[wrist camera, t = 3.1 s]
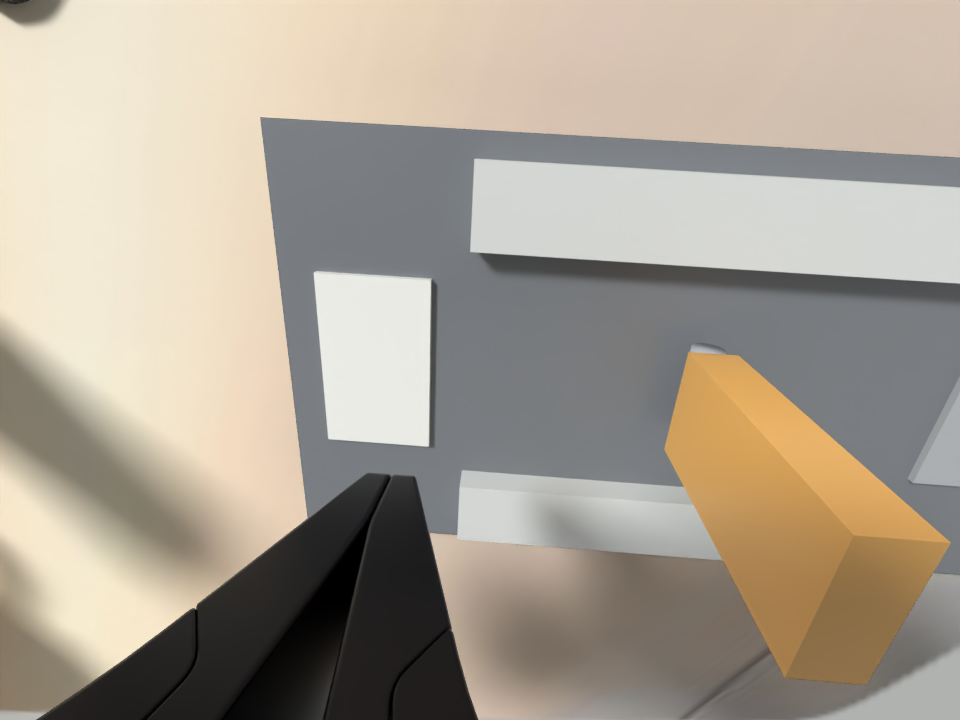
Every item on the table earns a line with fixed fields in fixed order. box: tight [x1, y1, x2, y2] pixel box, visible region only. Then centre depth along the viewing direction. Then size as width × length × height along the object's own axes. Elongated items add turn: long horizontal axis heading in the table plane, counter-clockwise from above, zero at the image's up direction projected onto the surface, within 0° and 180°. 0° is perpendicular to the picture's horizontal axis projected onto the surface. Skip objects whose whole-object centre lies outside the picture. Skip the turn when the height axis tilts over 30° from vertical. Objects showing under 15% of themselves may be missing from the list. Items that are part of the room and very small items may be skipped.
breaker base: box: [260, 117, 960, 575], centre depth 13 cm, size 22×12×2 cm, turn 87°
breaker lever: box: [664, 343, 951, 685], centre depth 10 cm, size 1×3×7 cm, turn 177°
